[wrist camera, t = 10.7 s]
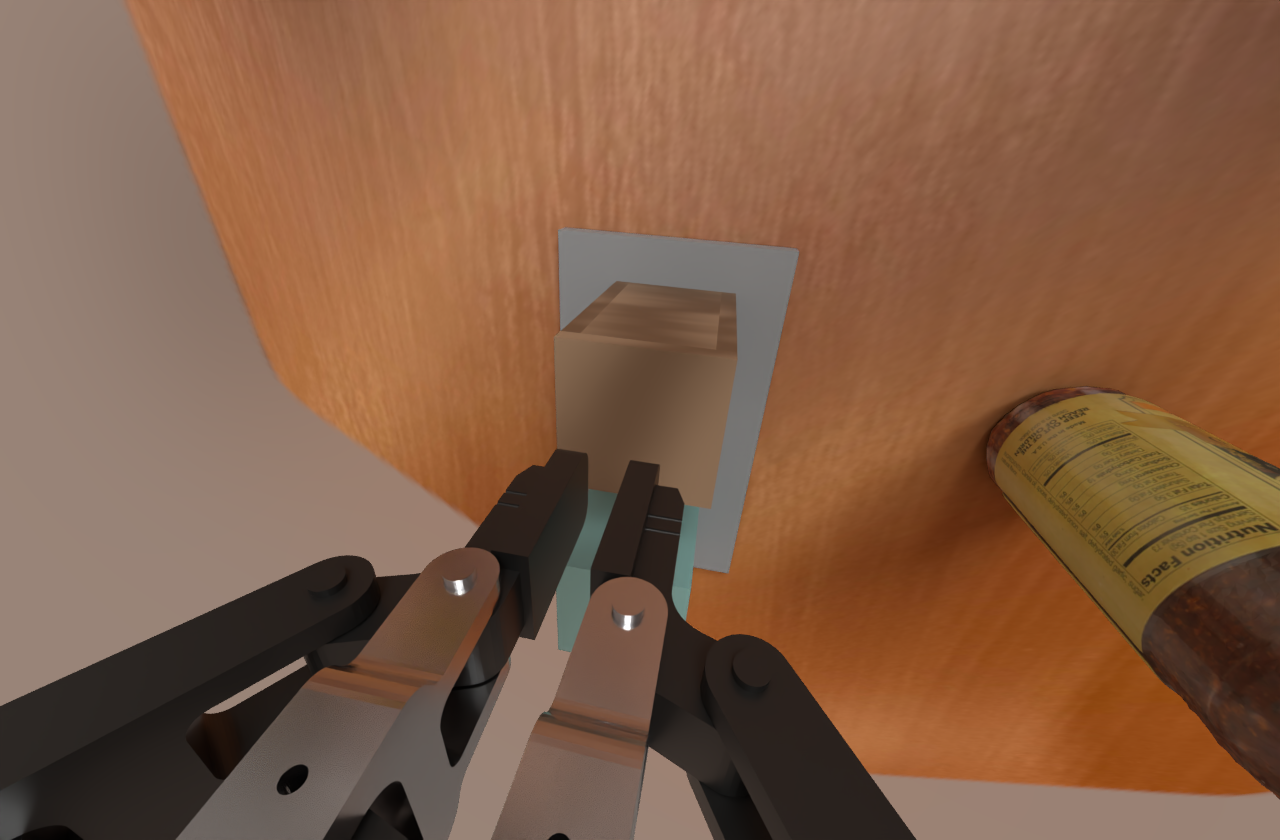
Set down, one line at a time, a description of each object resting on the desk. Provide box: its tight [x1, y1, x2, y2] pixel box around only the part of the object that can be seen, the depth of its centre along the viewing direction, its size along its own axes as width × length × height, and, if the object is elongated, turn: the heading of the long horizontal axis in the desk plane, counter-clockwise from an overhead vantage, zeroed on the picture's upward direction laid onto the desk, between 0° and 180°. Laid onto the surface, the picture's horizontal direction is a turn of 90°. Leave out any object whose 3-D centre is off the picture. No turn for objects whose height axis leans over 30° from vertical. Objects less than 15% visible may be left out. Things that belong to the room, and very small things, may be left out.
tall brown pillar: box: [554, 281, 738, 509], centre depth 17 cm, size 5×5×8 cm
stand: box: [556, 227, 799, 652], centre depth 20 cm, size 10×18×9 cm, turn 176°
